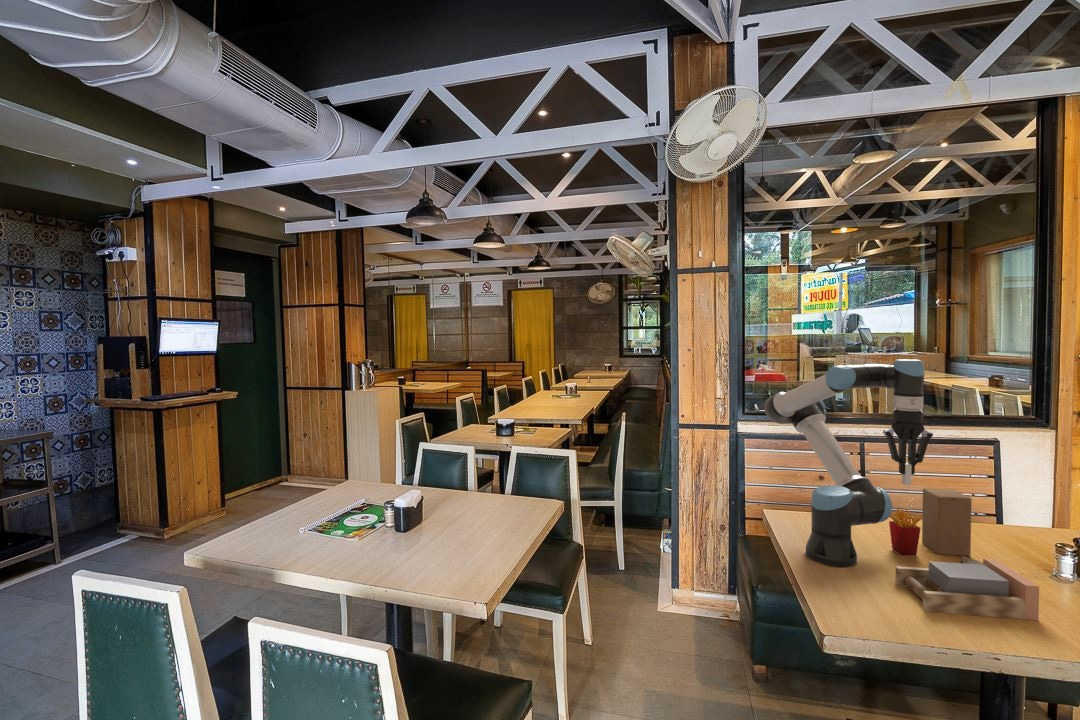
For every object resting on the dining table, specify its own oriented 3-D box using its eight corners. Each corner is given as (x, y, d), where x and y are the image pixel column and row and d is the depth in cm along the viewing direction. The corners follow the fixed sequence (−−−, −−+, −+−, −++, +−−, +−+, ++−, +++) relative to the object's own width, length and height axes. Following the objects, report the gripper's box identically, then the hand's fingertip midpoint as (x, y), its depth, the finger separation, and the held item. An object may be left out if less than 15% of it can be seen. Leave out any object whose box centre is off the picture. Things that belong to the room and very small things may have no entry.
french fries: (921, 556, 170) (921, 512, 169) (896, 556, 170) (896, 513, 169) (903, 546, 178) (903, 504, 178) (879, 546, 179) (880, 504, 178)
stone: (1020, 583, 151) (1021, 574, 151) (1006, 590, 148) (1006, 579, 147) (962, 564, 164) (962, 554, 164) (947, 569, 161) (948, 559, 161)
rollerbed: (925, 611, 136) (926, 593, 136) (895, 582, 152) (895, 566, 152) (1024, 619, 132) (1025, 600, 131) (982, 588, 148) (983, 571, 148)
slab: (949, 595, 138) (949, 577, 137) (928, 578, 147) (928, 561, 147) (1008, 599, 135) (1008, 581, 135) (983, 581, 145) (984, 564, 144)
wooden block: (971, 556, 169) (972, 498, 168) (937, 554, 171) (938, 496, 170) (953, 544, 179) (954, 489, 178) (921, 542, 181) (922, 488, 180)
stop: (1024, 619, 132) (1025, 585, 131) (982, 588, 148) (983, 558, 147) (1038, 620, 131) (1039, 586, 131) (994, 589, 147) (995, 559, 147)
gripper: (888, 410, 154) (887, 486, 155) (938, 411, 150) (936, 489, 152) (879, 407, 161) (877, 479, 162) (926, 408, 158) (924, 482, 159)
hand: (906, 484), depth 157 cm, fingers closed
